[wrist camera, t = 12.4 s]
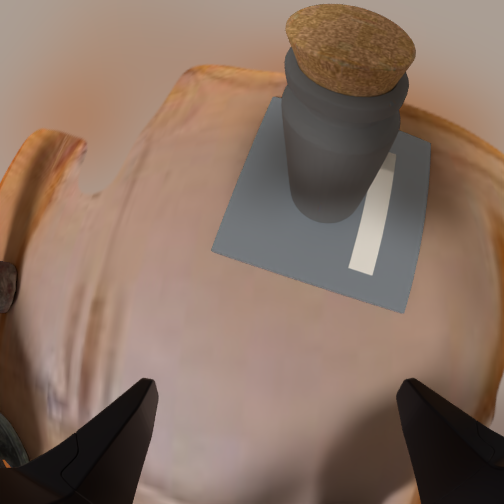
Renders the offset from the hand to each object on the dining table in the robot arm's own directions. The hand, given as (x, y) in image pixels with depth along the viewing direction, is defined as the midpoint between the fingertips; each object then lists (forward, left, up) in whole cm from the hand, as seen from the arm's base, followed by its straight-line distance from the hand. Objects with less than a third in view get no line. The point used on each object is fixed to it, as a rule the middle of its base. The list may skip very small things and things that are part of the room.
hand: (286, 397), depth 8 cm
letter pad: (0, -13, -12) cm, 18 cm away
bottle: (+1, -12, -12) cm, 17 cm away
